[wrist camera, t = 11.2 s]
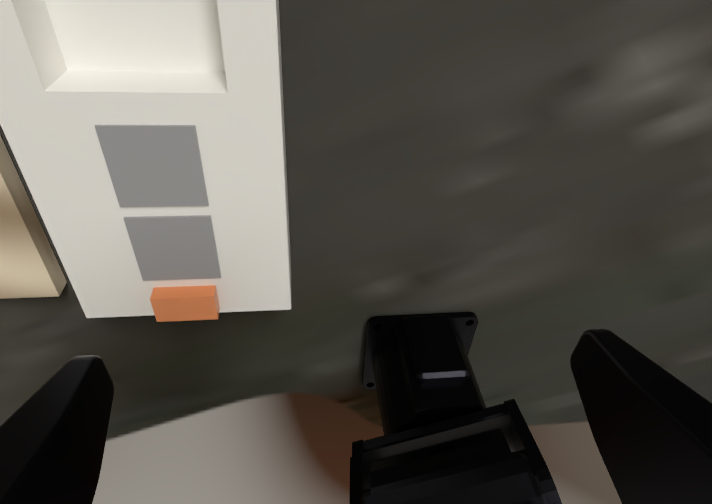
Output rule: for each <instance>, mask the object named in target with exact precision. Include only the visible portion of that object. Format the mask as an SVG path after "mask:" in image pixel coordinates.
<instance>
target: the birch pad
mask: <svg viewBox="0 0 712 504" xmlns="http://www.w3.org/2000/svg"><path fill="white" fill-rule="evenodd" d="M66 283H67V281H66V279H65V277H64V275H63V272H62V270H61V268H60V266H59V264H58V261H57V259H56V257H55V255H54V253H53V250H52V248H51V246H50V244H49V241H48V239H47V237H46V235H45V233H44V230H43V228H42V226H41V224H40V222H39V219H38V217H37V215H36V213H35V211H34V208H33V206H32V204H31V202H30V199H29V197H28V195H27V193H26V191H25V188H24V186H23V184H22V182H21V180H20V177H19V175H18V173H17V171H16V169H15V166H14V164H13V162H12V160H11V157H10V155H9V153H8V151H7V149H6V146H5V144H4V142H3V140H2V138H1V135H0V299H2V298H29V297H56V296H60V294H61V292H62V290H63V289H64V287H65V285H66Z"/></svg>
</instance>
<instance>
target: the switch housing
mask: <svg viewBox="0 0 712 504" xmlns="http://www.w3.org/2000/svg"><path fill="white" fill-rule="evenodd" d="M0 125H1V127H2V129H3V131H4V134H5V136H6V138H7V140H8V143H9V145H10V147H11V149H12V152H13V154H14V156H15V158H16V161H17V163H18V165H19V167H20V169H21V172H22V174H23V176H24V178H25V181H26V183H27V185H28V187H29V190H30V192H31V194H32V196H33V199H34V201H35V203H36V205H37V208H38V210H39V212H40V214H41V217H42V219H43V221H44V223H45V226H46V228H47V230H48V232H49V235H50V237H51V239H52V241H53V244H54V246H55V248H56V250H57V253H58V255H59V257H60V259H61V262H62V264H63V266H64V268H65V271H66V273H67V275H68V277H69V280H70V282H71V284H72V286H73V288H74V291H75V293H76V295H77V297H78V300H79V302H80V304H81V306H82V309H83V311H84V313H85V315H86V318H102V317H125V316H149V315H155V317H156V320H157V322H167V321H190V320H212V319H218V317H219V312H243V311H266V310H290V309H291V257H290V236H289V214H288V192H287V171H286V149H285V128H284V106H283V85H282V63H281V41H280V20H279V0H0Z"/></svg>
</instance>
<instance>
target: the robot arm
mask: <svg viewBox="0 0 712 504" xmlns="http://www.w3.org/2000/svg"><path fill="white" fill-rule="evenodd" d="M468 320H469V321H468ZM377 324H378V325H377ZM477 324H478V319H477V317H476V315H475V313H473V312H460V313H438V314H416V315H394V316H376V317H372V318H370V319H369V320H368V324H367V334H366V345H365V355H364V365H363V375H362V384H363V387H364V388H365V389H376V390H377V396H378V402H379V408H380V414H381V420H382V426H383V432H384V436H381V437H377V438H373V439H370V440H366V441H363V440H359V441H355V442H353V443H352V457H351V458H350V504H562V502H561V500H560V497H559V494H558V492H557V489H556V487H555V484H554V482H553V479H552V477H551V474H550V472H549V469H548V467H547V465H546V463H545V461H544V459H543V457H542V455H541V453H540V451H539V448H538V446H537V444H536V442H535V440H534V438H533V436H532V434H531V432H530V430H529V428H528V426H527V424H526V422H525V420H524V418H523V416H522V414H521V412H520V410H519V408H518V406H517V404H516V402H515V400H514V399H511V400H507V401H504V403H503V404H500V405H496V406H492V407H489V408H486V406H485V403H484V400H483V397H482V395H481V392H480V389H479V386H478V384H477V381H476V378H475V375H474V373H473V370H472V367H471V364H470V362H469V359H468V353H469V349H470V346H471V343H472V340H473V337H474V334H475V330H476V327H477ZM570 363H571V369H572V372H573V375H574V378H575V381H576V385H577V388H578V391H579V394H580V397H581V400H582V403H583V406H584V410H585V413H586V416H587V419H588V422H589V425H590V428H591V431H592V434H593V437H594V439H595V442H596V444H597V447H598V449H599V452H600V454H601V456H602V458H603V461H604V463H605V465H606V467H607V470H608V472H609V474H610V477H611V479H612V481H613V484H614V486H615V488H616V490H617V493H618V495H619V497H620V500H621V502H622V504H712V403H710V402H709V401H708V400H706V399H705V398H703V397H702V396H701V395H699V394H698V393H696V392H695V391H694V390H692V389H691V388H689V387H688V386H687V385H685V384H684V383H682V382H681V381H680V380H678V379H677V378H675V377H674V376H673V375H671V374H670V373H668V372H667V371H666V370H664V369H663V368H661V367H660V366H659V365H657V364H656V363H654V362H653V361H652V360H650V359H649V358H647V357H646V356H645V355H643V354H642V353H640V352H639V351H638V350H636V349H635V348H633V347H632V346H631V345H629V344H628V343H626V342H625V341H624V340H622V339H621V338H619V337H618V336H617V335H615V334H614V333H612V332H611V331H609V330H606V329H594V330H587V331H585V332H584V333H583V334H582V336H581V338H580V340H579V342H578V344H577V346H576V347H575V349H574V351H573V353H572V355H571V361H570ZM113 395H114V386H113V382H112V380H111V377H110V375H109V373H108V371H107V369H106V366H105V364H104V362H103V360H102V358H101V357H100V356H98V355H86V356H75V357H73V358H71V359H70V360H69V361H68V362H67V363H66V364H65V365H63V366H62V367H61V368H60V369H59V370H58V371H57V372H56V373H55V374H54V375H53V376H52V377H51V378H50V379H49V380H48V381H47V382H46V383H45V384H44V385H43V386H42V387H41V388H40V389H39V390H38V391H37V392H35V393H34V394H33V395H32V396H31V397H30V398H29V399H28V400H27V401H26V402H25V403H24V404H23V405H22V406H21V407H20V408H19V409H18V410H17V411H16V412H15V413H14V414H13V415H12V416H11V417H10V418H8V419H7V420H6V421H5V422H4V423H3V424H2V425H1V426H0V504H92V502H93V498H94V495H95V491H96V487H97V484H98V480H99V475H100V470H101V465H102V459H103V453H104V447H105V442H106V436H107V430H108V424H109V419H110V413H111V407H112V401H113Z"/></svg>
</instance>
